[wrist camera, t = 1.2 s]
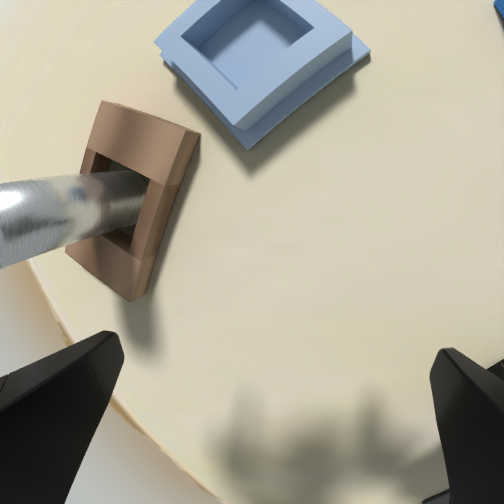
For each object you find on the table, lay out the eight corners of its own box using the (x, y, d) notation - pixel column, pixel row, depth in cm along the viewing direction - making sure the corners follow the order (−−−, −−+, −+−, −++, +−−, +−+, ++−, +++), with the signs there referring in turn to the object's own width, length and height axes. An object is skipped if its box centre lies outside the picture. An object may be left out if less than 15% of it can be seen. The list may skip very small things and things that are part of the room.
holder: (200, 133, 19) (185, 130, 17) (145, 293, 23) (130, 302, 21) (118, 103, 20) (101, 100, 18) (80, 246, 24) (64, 252, 22)
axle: (158, 206, 21) (12, 245, 10) (124, 234, 22) (-7, 282, 11) (133, 159, 20) (-12, 168, 9) (101, 191, 22) (-29, 216, 11)
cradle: (370, 53, 14) (373, 33, 11) (248, 150, 18) (231, 146, 15) (264, -29, 14) (252, -51, 11) (163, 57, 18) (139, 45, 15)
